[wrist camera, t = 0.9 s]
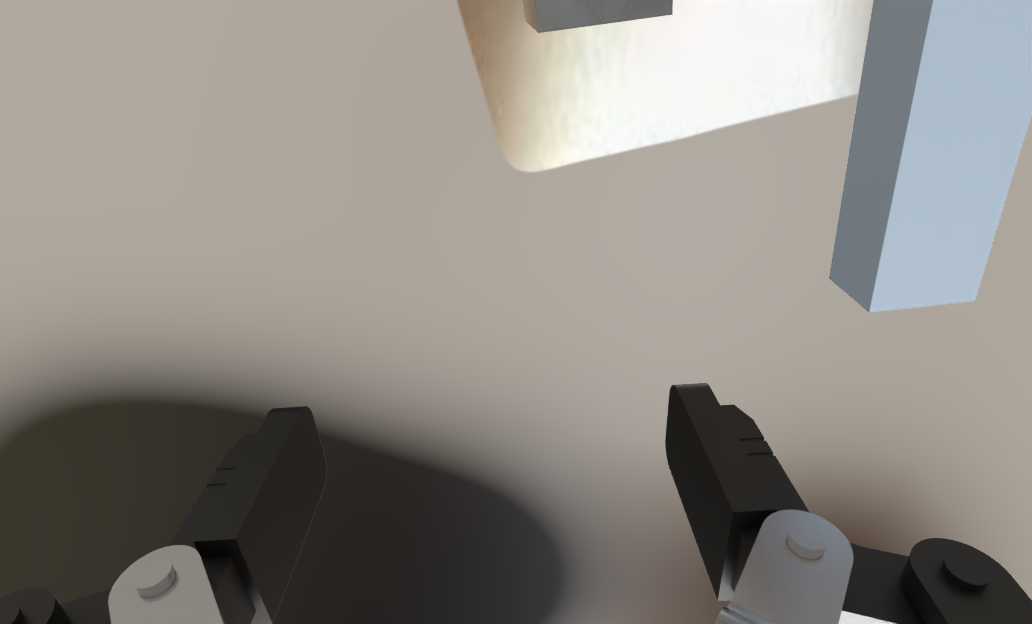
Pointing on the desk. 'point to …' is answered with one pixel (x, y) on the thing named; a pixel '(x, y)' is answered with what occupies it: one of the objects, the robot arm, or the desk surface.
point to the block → (932, 149)
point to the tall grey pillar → (590, 12)
